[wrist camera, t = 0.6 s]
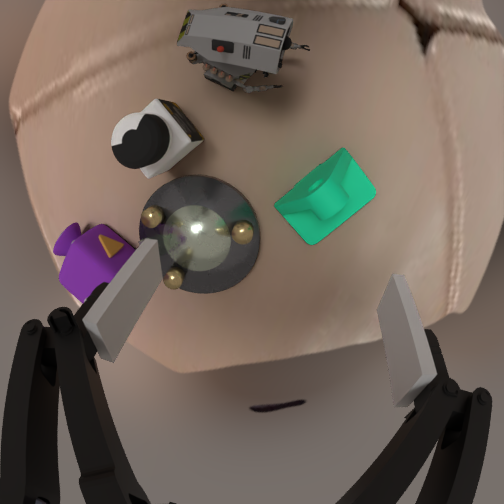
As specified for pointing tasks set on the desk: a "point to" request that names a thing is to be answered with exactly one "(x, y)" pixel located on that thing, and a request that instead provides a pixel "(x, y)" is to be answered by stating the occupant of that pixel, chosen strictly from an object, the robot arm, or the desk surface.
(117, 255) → the toy camera
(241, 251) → the plate
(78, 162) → the desk surface
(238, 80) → the figurine
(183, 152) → the medicine bottle
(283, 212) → the camera mount
